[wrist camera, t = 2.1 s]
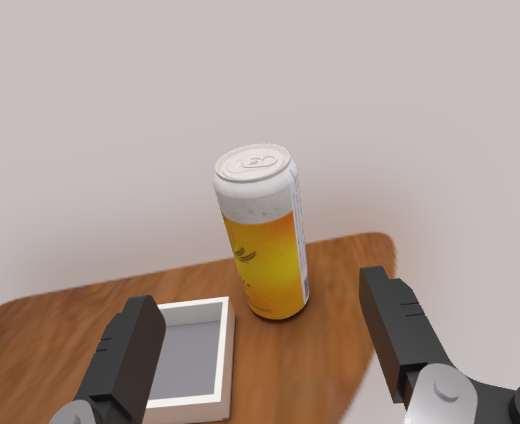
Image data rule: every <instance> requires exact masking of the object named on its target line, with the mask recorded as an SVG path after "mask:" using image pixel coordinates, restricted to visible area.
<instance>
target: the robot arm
mask: <svg viewBox="0 0 520 424" xmlns="http://www.w3.org/2000/svg"><path fill="white" fill-rule="evenodd" d="M359 299H360V304H361V309H362V312H363V315H364V318H365V321H366V324H367V327H368V330H369V333H370V336H371V338H372V341H373V344H374V347H375V350H376V353H377V356H378V359H379V362H380V365H381V368H382V371H383V374H384V377H385V379H386V383H387V385H388V388H389V391H390V394H391V397H392V400H393V403H394V404H395V403H404V406H405V409H406V411H407V413H406V417H405V420H404V423H403V424H520V387H519V388H518V389H517V391H515V390H511V389H506V388H501V387H497V386H492V385H488V384H484V383H480V382H477V381H475V380H473V379H471V378H469V377H467V376H466V375H464V374H463V373H462V372H460V371H459V370H458V369H457V368H456V367H455V366H454V365H453V364H452V362H451V361H450V359H449V358H448V356H447V354H446V352H445V350H444V349H443V347H442V345H441V343H440V341H439V339H438V337H437V335H436V334H435V332H434V330H433V328H432V326H431V324H430V322H429V320H428V319H427V317H426V316H425V313H424V311H423V309H422V307H421V306H420V305H419V302H418V300H417V298H416V296H415V294H414V292H413V290H412V289H411V288H410V287H409V286H408V285H407V284H405V283H404V282H403V281H402V280H401V279H400V278H398V279H390V280H389V279H388V277H387V274H386V272H385V270H384V268H383V267H382V266H381V265H380V266H372V267H365V268H360V277H359ZM165 333H166V322H165V319H164V316H163V315H162V313H161V311H160V309H159V308H158V306H157V304H156V302H155V301H154V299H153V297H152V296H151V295H144V296H137V297H130V298H129V299H128V300H127V302H126V304H125V307H124V309H123V312H122V313H117V314H116V315H115V316H114V318H113V319H112V320H111V321H110V322H109V324H108V325H107V326H106V329H105V331H104V333H103V335H102V338H101V342H99V344H98V347H97V349H96V353H94V356H93V358H92V360H91V362H90V365H89V367H88V369H87V371H86V374H85V376H84V378H83V380H82V383H81V385H80V387H79V389H78V392H77V394H76V396H75V398H74V400H73V401H72V402H70V403H68V404H67V405H65V406H64V407H62V408H61V409H60V410H59V411H58V412H57V413H56V414H55V415H54V416H53V417H52V419H51V420H50V422H49V423H48V424H142V422H143V418H144V414H145V410H146V406H147V403H148V399H149V395H150V391H151V387H152V383H153V380H154V376H155V372H156V368H157V364H158V360H159V357H160V353H161V349H162V345H163V341H164V337H165Z"/></svg>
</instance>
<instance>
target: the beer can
mask: <svg viewBox="0 0 520 424" xmlns="http://www.w3.org/2000/svg"><path fill="white" fill-rule="evenodd" d="M215 171H216V172H215V176H214V182H213V184H214V188H215V192H216V195H217V198H218V202H219V205H220V209H221V212H222V216H223V219H224V223H225V226H226V229H227V233H228V237H229V240H230V243H231V247H232V250H233V254H234V257H235V261H236V264H237V268H238V271H239V275H240V278H241V282H242V285H243V288H244V292H245V295H246V299H247V302H248V305H249V306H250V308H251V309H252V310H253V311H254V312H255V313H256V314H258V315H260V316H262V317H264V318H268V319H284V318H288V317H290V316H292V315H294V314H296V313H297V312H299V311H300V310H301V309H302V308H303V307H304V305H305V304H306V302H307V300H308V298H309V282H308V272H307V262H306V252H305V242H304V232H303V221H302V211H301V201H300V192H299V182H298V171H297V166H296V164H295V163H294V161H293V160H292V159H291V157H290V153H289V151H288V150H287V149H285V148H284V147H282V146H279V145H275V144H253V145H248V146H243V147H240V148H237V149H234V150H232V151H230V152H228V153H226V154H225V155H223V156H222V157H221V158H220V159H219V160H218V161H217V163H216V165H215Z"/></svg>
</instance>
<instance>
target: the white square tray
mask: <svg viewBox="0 0 520 424" xmlns="http://www.w3.org/2000/svg"><path fill="white" fill-rule="evenodd" d="M157 306H158V308H159V309H160V311H161V313H162V315H163V316H164V319H165V322H166V333H165V337H164V341H163V345H162V349H161V353H160V357H159V360H158V364H157V368H156V372H155V376H154V380H153V383H152V387H151V391H150V395H149V399H148V403H147V406H146V410H145V414H144V418H143V422H142V424H188V423H199V422H211V421H222V420H230V412H231V393H232V375H233V356H234V337H235V319H236V316H235V313H234V311H233V308H232V305H231V302H230V299H229V297H220V298H212V299H203V300H195V301H186V302H178V303H170V304H161V305H157Z"/></svg>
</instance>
